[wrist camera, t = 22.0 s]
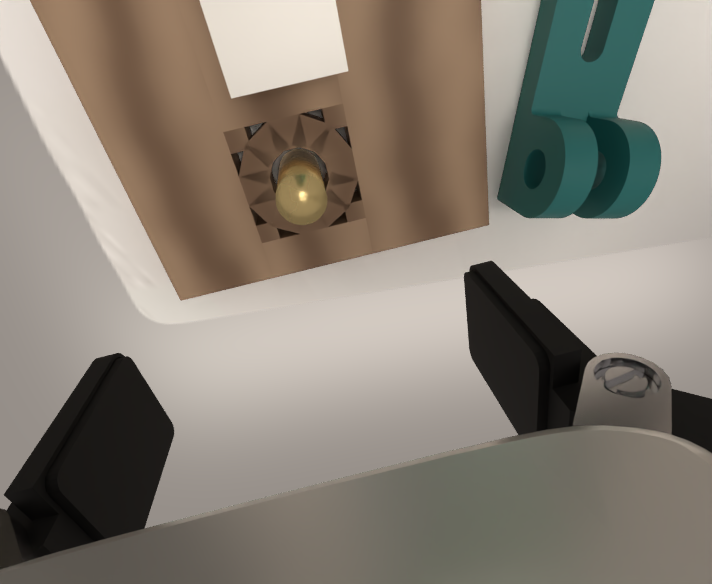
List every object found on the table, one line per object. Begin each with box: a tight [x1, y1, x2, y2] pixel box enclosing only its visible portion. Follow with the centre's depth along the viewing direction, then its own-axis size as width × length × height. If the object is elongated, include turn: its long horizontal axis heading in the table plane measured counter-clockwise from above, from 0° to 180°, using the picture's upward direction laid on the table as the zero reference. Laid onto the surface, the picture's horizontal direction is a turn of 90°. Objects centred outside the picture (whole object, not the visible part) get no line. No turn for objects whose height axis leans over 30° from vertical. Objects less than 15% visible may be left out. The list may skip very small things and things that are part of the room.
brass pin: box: [276, 149, 327, 225], centre depth 27 cm, size 3×3×8 cm
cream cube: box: [199, 0, 348, 99], centre depth 21 cm, size 6×6×6 cm
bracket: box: [497, 0, 661, 218], centre depth 27 cm, size 18×7×8 cm, turn 177°
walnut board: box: [30, 0, 489, 300], centre depth 28 cm, size 25×20×2 cm
